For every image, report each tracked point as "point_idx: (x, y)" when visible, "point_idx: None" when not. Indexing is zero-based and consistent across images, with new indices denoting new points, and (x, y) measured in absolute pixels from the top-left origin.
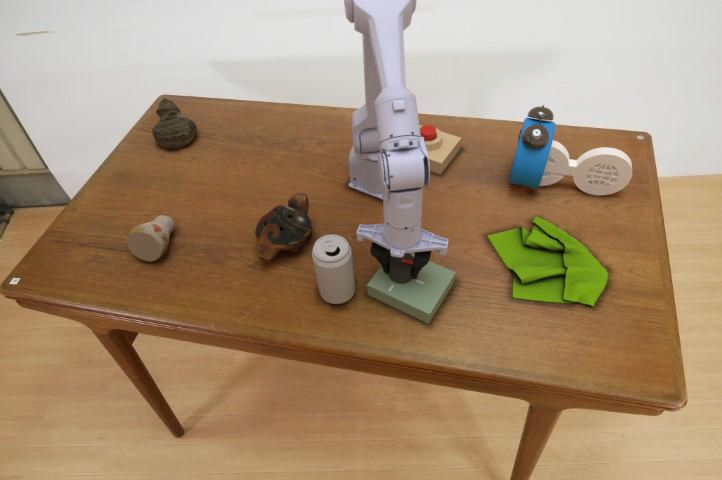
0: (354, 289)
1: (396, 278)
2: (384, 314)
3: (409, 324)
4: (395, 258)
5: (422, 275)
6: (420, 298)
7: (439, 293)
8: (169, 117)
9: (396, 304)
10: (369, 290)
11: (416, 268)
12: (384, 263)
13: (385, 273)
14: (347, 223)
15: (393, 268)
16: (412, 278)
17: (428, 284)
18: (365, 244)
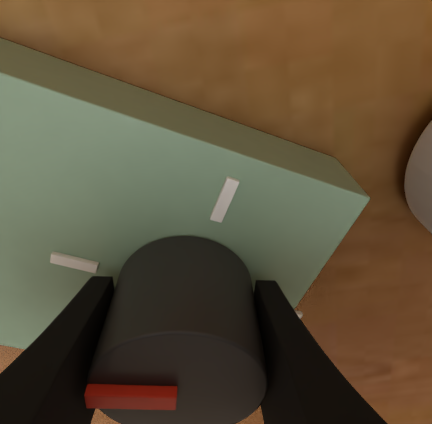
0: (422, 167)
1: (199, 265)
2: (239, 53)
3: (83, 5)
4: (224, 399)
5: None
6: (25, 161)
7: None
8: None
9: (179, 114)
10: (341, 174)
11: (26, 385)
12: (302, 375)
13: (270, 280)
14: (402, 401)
15: (225, 343)
16: (119, 274)
17: (23, 256)
18: (345, 354)
